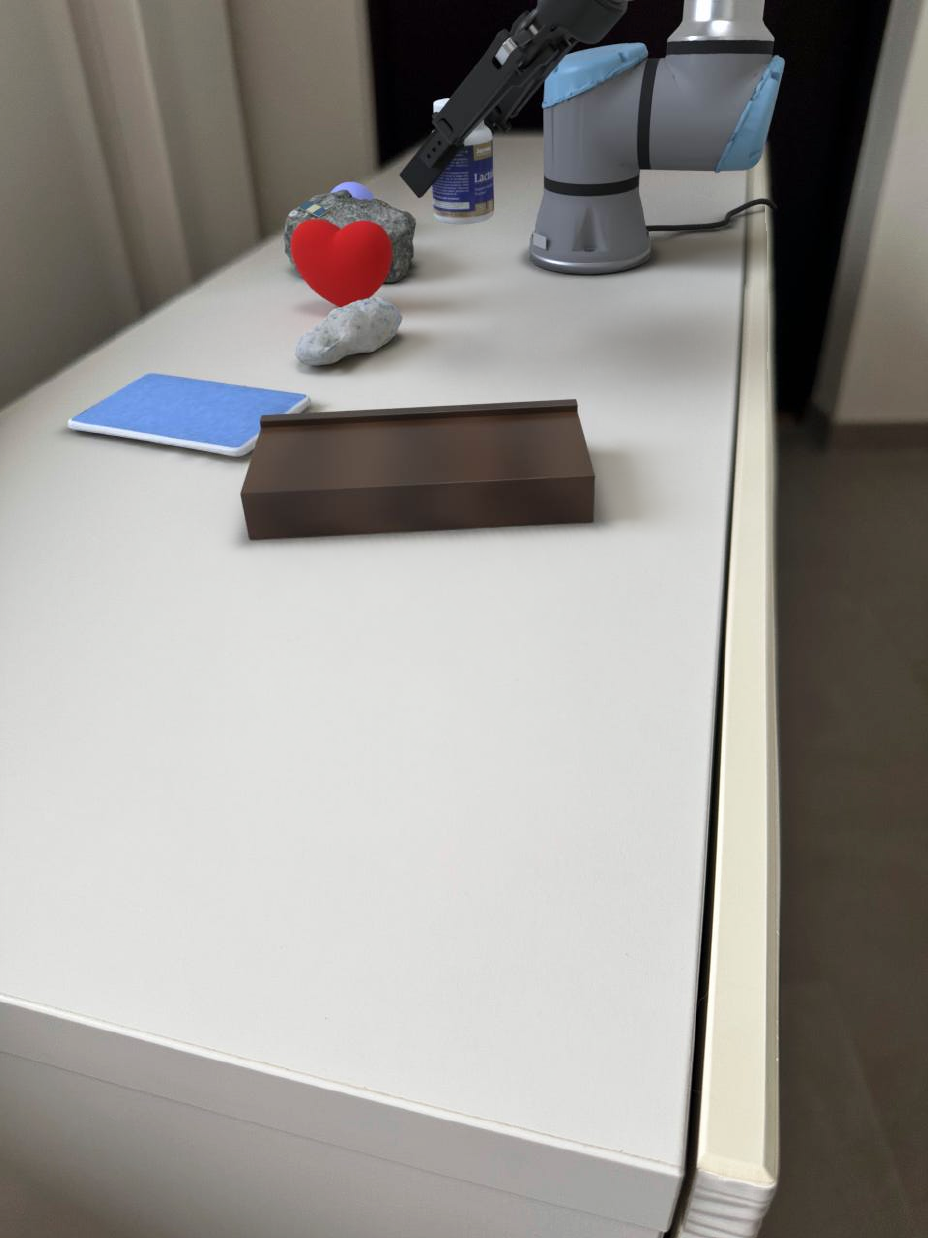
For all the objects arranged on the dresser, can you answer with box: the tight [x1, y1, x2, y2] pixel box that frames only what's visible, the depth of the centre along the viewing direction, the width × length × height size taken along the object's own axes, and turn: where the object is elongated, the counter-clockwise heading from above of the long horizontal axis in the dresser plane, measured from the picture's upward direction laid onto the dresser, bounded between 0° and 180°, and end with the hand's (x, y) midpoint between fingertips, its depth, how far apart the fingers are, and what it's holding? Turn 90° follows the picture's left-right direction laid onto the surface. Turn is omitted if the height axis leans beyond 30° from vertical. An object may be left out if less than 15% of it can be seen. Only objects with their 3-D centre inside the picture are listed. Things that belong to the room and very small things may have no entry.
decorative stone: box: [295, 296, 403, 366], centre depth 105 cm, size 13×7×5 cm, turn 148°
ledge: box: [239, 398, 596, 540], centre depth 80 cm, size 26×12×5 cm, turn 92°
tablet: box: [67, 372, 312, 458], centre depth 94 cm, size 19×13×1 cm, turn 67°
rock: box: [283, 190, 417, 283], centre depth 127 cm, size 18×14×10 cm
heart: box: [291, 219, 392, 308], centre depth 114 cm, size 12×5×10 cm, turn 75°
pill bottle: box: [431, 97, 495, 226], centre depth 93 cm, size 6×6×10 cm
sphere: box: [330, 181, 376, 200], centre depth 140 cm, size 7×7×7 cm
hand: (428, 177), depth 95 cm, fingers closed on pill bottle, 6 cm apart
